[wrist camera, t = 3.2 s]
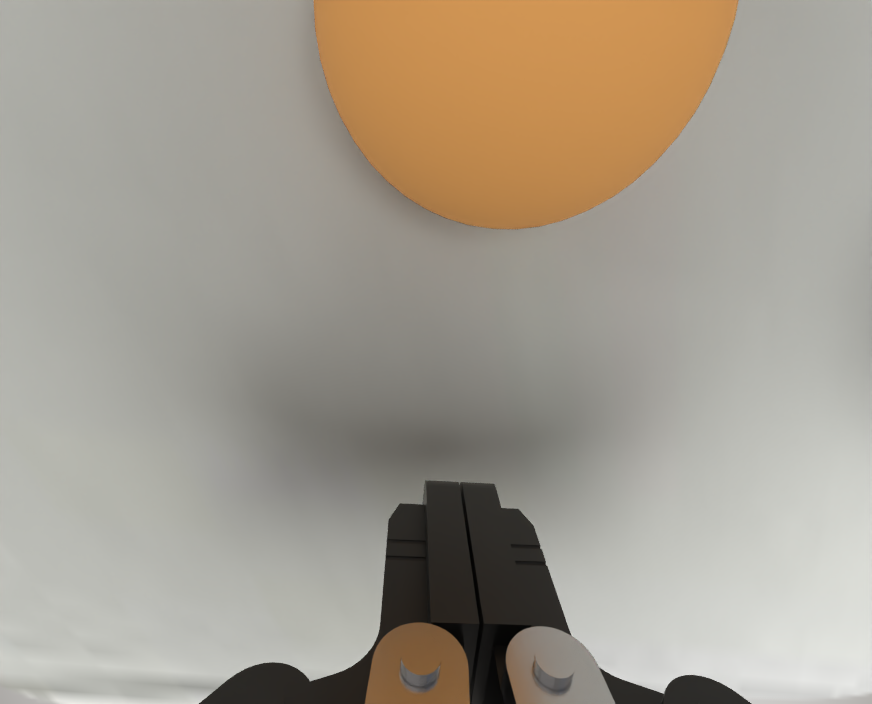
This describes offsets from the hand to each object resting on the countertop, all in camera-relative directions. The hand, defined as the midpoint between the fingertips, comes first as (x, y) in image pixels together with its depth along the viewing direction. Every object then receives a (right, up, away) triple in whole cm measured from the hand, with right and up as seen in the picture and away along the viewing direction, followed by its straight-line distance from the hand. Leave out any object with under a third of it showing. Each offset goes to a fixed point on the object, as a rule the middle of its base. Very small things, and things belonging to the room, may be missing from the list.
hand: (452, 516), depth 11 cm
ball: (+1, +9, -3) cm, 9 cm away
